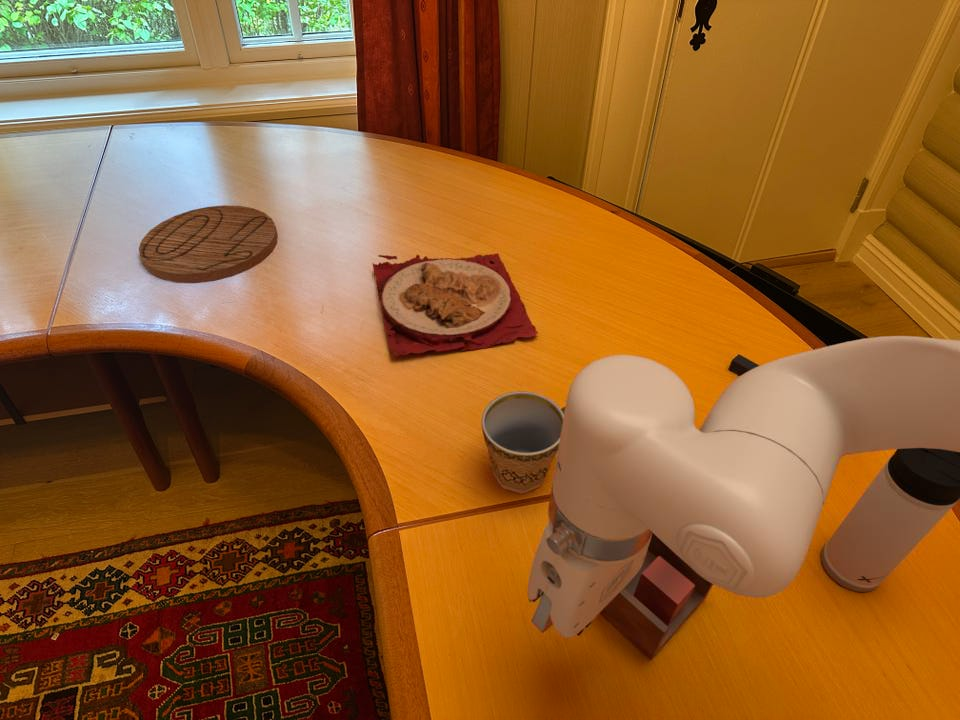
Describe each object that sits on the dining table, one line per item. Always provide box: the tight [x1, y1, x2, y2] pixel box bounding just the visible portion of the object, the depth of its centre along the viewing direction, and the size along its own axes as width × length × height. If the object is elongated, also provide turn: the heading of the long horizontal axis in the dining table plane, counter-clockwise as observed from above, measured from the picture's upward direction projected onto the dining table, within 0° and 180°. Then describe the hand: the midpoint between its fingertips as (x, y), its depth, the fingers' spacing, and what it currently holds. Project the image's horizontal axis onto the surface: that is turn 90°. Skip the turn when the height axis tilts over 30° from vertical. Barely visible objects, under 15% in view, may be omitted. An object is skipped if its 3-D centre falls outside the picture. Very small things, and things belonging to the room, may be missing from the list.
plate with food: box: [372, 252, 539, 357], centre depth 103 cm, size 24×26×3 cm
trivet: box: [138, 204, 279, 284], centre depth 117 cm, size 25×25×2 cm
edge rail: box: [728, 353, 760, 377], centre depth 87 cm, size 20×2×2 cm, turn 42°
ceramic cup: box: [481, 390, 565, 495], centre depth 75 cm, size 13×10×10 cm
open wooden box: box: [599, 532, 714, 661], centre depth 64 cm, size 12×10×7 cm
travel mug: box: [820, 448, 960, 593], centre depth 62 cm, size 6×7×20 cm
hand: (571, 617), depth 56 cm, fingers closed
